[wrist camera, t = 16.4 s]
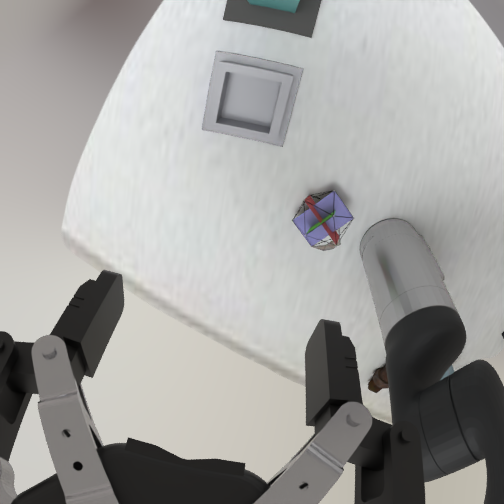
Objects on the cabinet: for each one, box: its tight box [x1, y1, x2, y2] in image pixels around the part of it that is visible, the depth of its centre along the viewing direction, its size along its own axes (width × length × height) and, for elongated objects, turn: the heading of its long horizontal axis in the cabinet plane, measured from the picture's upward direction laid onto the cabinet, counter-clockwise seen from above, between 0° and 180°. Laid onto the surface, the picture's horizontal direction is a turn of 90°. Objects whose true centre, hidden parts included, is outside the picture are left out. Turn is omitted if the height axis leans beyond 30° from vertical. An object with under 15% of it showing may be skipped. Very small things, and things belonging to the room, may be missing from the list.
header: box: [202, 51, 303, 147], centre depth 34 cm, size 10×10×4 cm
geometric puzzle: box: [292, 190, 354, 251], centre depth 40 cm, size 7×7×8 cm
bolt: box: [368, 366, 389, 393], centre depth 60 cm, size 6×5×15 cm
